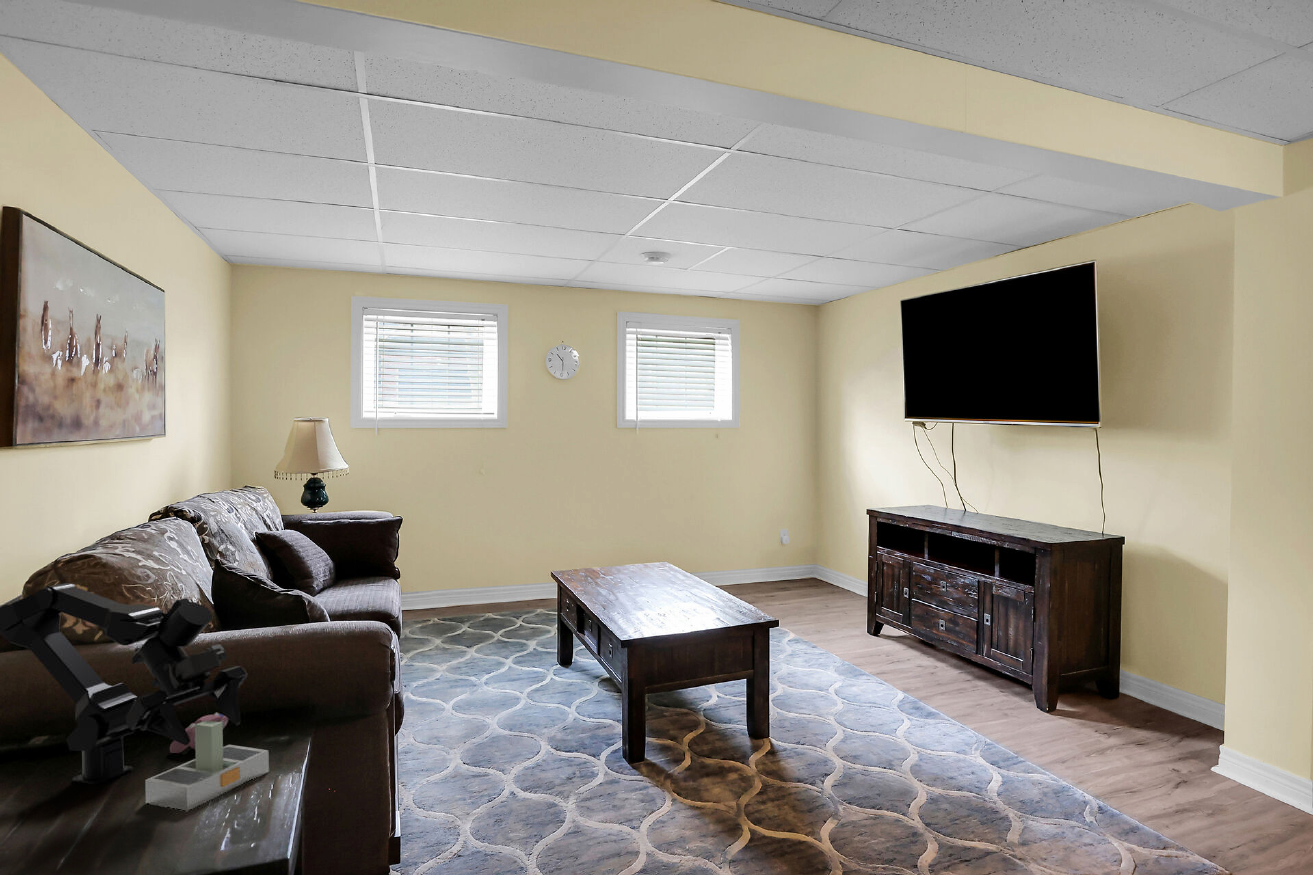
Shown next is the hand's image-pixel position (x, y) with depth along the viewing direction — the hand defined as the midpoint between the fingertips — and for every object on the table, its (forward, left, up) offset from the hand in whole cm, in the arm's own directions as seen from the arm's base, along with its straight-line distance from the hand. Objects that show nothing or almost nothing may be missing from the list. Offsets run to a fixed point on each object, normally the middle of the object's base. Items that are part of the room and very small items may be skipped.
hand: (214, 732), depth 122 cm
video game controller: (-22, +13, -10) cm, 27 cm away
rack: (-1, 0, -9) cm, 9 cm away
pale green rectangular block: (-1, 0, -8) cm, 9 cm away
